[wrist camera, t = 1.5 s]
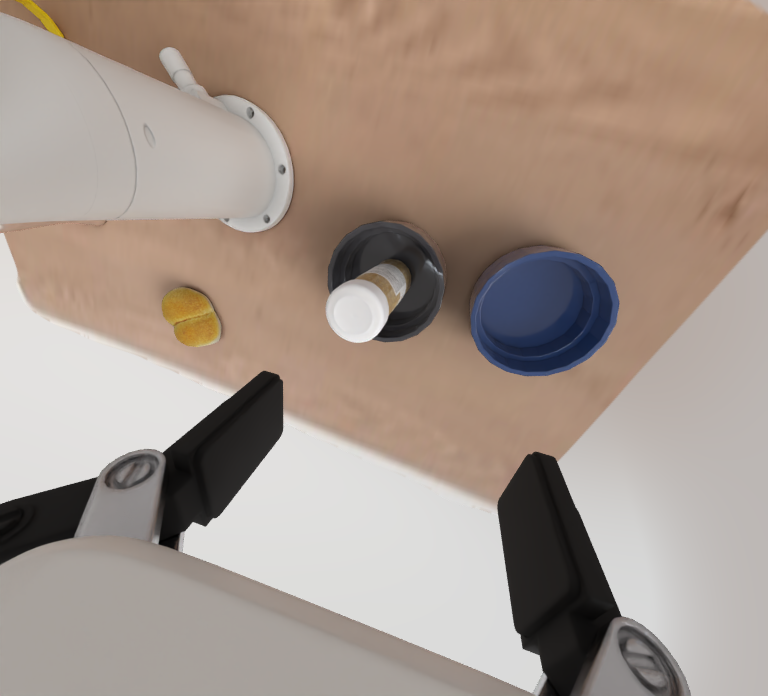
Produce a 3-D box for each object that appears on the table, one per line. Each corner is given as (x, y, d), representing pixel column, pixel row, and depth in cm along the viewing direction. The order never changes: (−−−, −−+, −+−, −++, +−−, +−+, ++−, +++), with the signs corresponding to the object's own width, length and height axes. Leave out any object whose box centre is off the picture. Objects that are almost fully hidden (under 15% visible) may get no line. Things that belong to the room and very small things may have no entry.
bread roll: (202, 280, 39) (177, 286, 35) (232, 337, 42) (212, 348, 38) (164, 292, 41) (137, 299, 38) (195, 345, 45) (172, 356, 41)
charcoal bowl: (327, 254, 32) (306, 260, 28) (417, 197, 28) (409, 194, 23) (375, 339, 36) (363, 356, 31) (463, 302, 31) (463, 316, 27)
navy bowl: (452, 278, 30) (451, 289, 26) (575, 221, 25) (599, 222, 21) (491, 367, 33) (495, 389, 29) (606, 331, 29) (632, 352, 24)
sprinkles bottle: (389, 304, 33) (350, 354, 21) (366, 274, 32) (311, 308, 20) (420, 282, 31) (395, 324, 19) (396, 248, 30) (354, 270, 18)
